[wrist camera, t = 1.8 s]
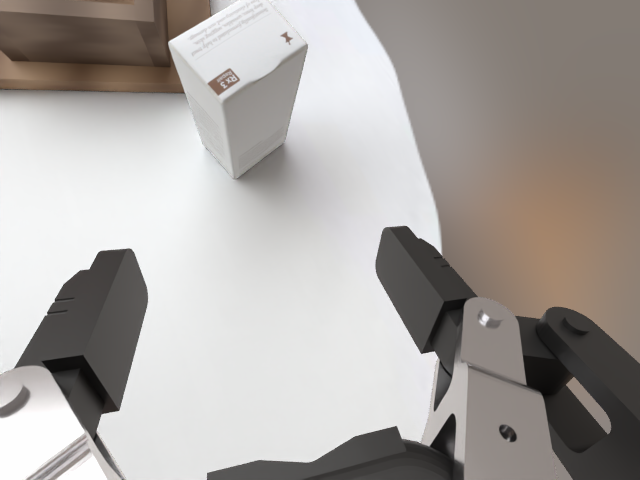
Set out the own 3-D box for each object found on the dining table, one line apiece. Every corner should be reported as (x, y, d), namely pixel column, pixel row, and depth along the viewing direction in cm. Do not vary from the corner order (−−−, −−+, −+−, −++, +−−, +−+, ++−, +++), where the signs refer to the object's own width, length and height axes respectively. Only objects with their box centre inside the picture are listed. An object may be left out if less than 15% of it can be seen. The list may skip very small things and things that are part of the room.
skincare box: (254, 108, 28) (257, -23, 16) (287, 144, 28) (314, 41, 17) (199, 147, 26) (159, 32, 15) (235, 186, 27) (223, 103, 15)
